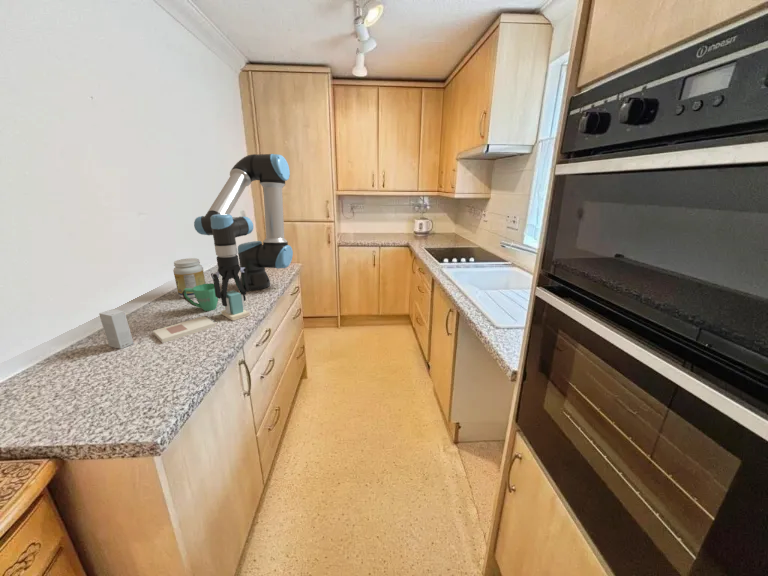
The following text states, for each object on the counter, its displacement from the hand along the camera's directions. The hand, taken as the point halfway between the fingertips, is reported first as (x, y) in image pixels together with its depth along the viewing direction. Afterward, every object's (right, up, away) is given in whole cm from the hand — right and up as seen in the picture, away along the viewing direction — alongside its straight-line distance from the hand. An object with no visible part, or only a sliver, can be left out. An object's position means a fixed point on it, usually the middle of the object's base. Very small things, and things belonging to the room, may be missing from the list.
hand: (235, 310), depth 129 cm
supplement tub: (-32, +6, +24) cm, 40 cm away
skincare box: (-27, -10, -24) cm, 37 cm away
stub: (0, -2, 0) cm, 2 cm away
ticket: (-12, -6, -13) cm, 19 cm away
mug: (-17, 0, +6) cm, 18 cm away
